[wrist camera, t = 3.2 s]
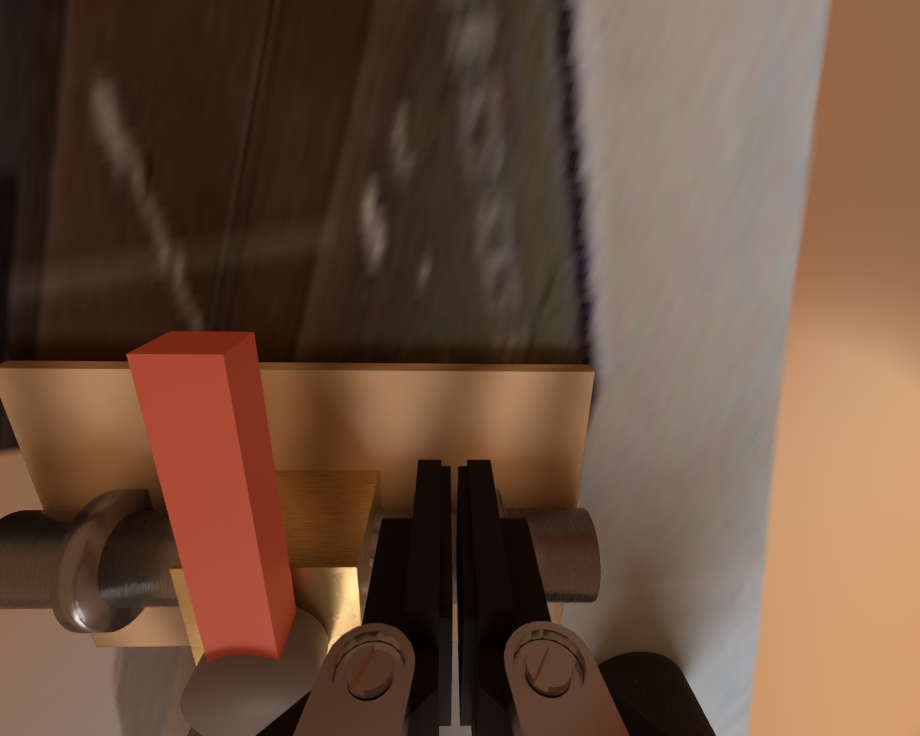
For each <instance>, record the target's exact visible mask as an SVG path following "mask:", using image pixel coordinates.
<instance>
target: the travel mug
mask: <svg viewBox="0 0 920 736" xmlns="http://www.w3.org/2000/svg"><path fill="white" fill-rule="evenodd" d="M598 669H599V671H600V673H601V675H602V677H603V679H604V682H605V684H606V686H607V688H608V689H609V690H610V691H612V692H613V693H614V694H616V695H617V696H618V697H619V698H621V699H622V700H623V701H625V702H626V703H627V704H629V705H630V706H631V707H632V708H634V709H635V710H636V711H638V712H639V713H640V714H641V715H643V716H644V717H645V718H647V719H648V720H649V721H651V722H652V723H653V724H654V725H656V726H657V727H658V728H660V729H661V730H662V731H664V732H665V733H666V734H667V735H669V736H716V735H715V733H714V731H713V729H712V727H711V725H710V724H709V722H708V720H707V718H706V716H705V714H704V712H703V710H702V708H701V706H700V705H699V703H698V701H697V699H696V697H695V695H694V693H693V691H692V689H691V688H690V686H689V684H688V682H687V680H686V678H685V677H684V675H683V673H682V672H681V670H680V669H679V667H678V666H677V665H676V664H675V663H674V662H672V661H671V660H670V659H668V658H666V657H664V656H661V655H657V654H653V653H630V654H625V655H621V656H618V657H615V658H612V659H610V660H608V661H606V662H604V663H602V664H601V665H600V666H598Z"/></svg>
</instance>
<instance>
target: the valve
mask: <svg viewBox="0 0 920 736" xmlns="http://www.w3.org/2000/svg"><path fill="white" fill-rule="evenodd" d="M275 473H276V480H277V486H278V493H279V500H280V506H281V513H282V519H283V526H284V532H285V539H286V546H287V552H288V559H289V565H290V572H291V579H292V585H293V592H294V598H295V605H296V606H297V607H299V608H301V609H303V610H305V611H307V612H308V613H310V614H311V615H313V616H314V617H315V618H316V619H317V620H318V621H319V622H320V623H321V625H322V626H323V628H324V629H325V631H326V634H327V637H328V651H327V653H328V652H329V650H330V648H331V646H332V645H333V644H334V643H335V642H336V641H337V640H338V639H339V638H340V637H341V636H342V635H343V634H345V633H347V632H348V631H350V630H352V629H353V628H355V627H358V626H362V621H363V615H364V610H365V605H366V600H367V594H368V589H369V584H370V579H371V573H372V568H373V563H374V558H375V552H376V547H377V542H378V536H379V531H380V526H381V522H382V519H383V518H413V509H382V508H381V489H380V471H379V470H275ZM495 491H496V497H497V503H498V510H499V516H500V518H517V517H525V518H526V519H527V522H528V525H529V529H530V533H531V538H532V542H533V546H534V550H535V554H536V559H537V563H538V567H539V571H540V575H541V580H542V584H543V588H544V592H545V597H546V601H547V603H574V602H594V601H595V600H596V598H597V596H598V593H599V588H600V574H601V570H600V554H599V546H598V541H597V536H596V532H595V528H594V525H593V522H592V519H591V517H590V515H589V513H588V512H587V511H586V510H585V509H584V508H503V503H502V498H501V494H500V491H499V489H498V488H495ZM451 517H452V581H453V604H457V582H456V538H457V508H453V509H451ZM145 607H180V609H181V613H182V616H183V620H184V624H185V627H186V631H187V635H188V638H189V642H190V645H191V649H192V653H193V656H194V660H195V663H196V667H197V665H198V663H199V661H200V659H201V657H202V655H203V653H204V648H203V644H202V640H201V637H200V633H199V629H198V625H197V621H196V618H195V614H194V610H193V606H192V602H191V599H190V595H189V591H188V587H187V583H186V580H185V576H184V572H183V568H182V564H181V561H180V557H179V553H178V549H177V545H176V542H175V538H174V534H173V530H172V526H171V523H170V519H169V515H168V511H167V510H154V509H153V505H152V502H151V498H150V495H149V491H148V490H146V489H117V490H111V491H107V492H105V493H103V494H101V495H99V496H97V497H96V498H94V499H93V500H92V501H90V502H89V503H88V504H87V505H86V506H85V507H84V508H83V509H82V510H23V511H18V512H14V513H11V514H9V515H7V516H5V517H3V518H1V519H0V609H42V608H43V609H46V608H47V609H48V608H52V609H53V612H54V614H55V616H56V618H57V620H58V621H59V623H60V624H61V625H62V626H63V627H64V628H66V629H67V630H69V631H71V632H76V633H108V632H115V631H118V630H120V629H122V628H124V627H126V626H127V625H129V624H130V623H131V622H132V621H134V620H135V619H136V618H137V617H138V616H139V615H140V614H141V612H142V611H143V610H144V609H145Z"/></svg>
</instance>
